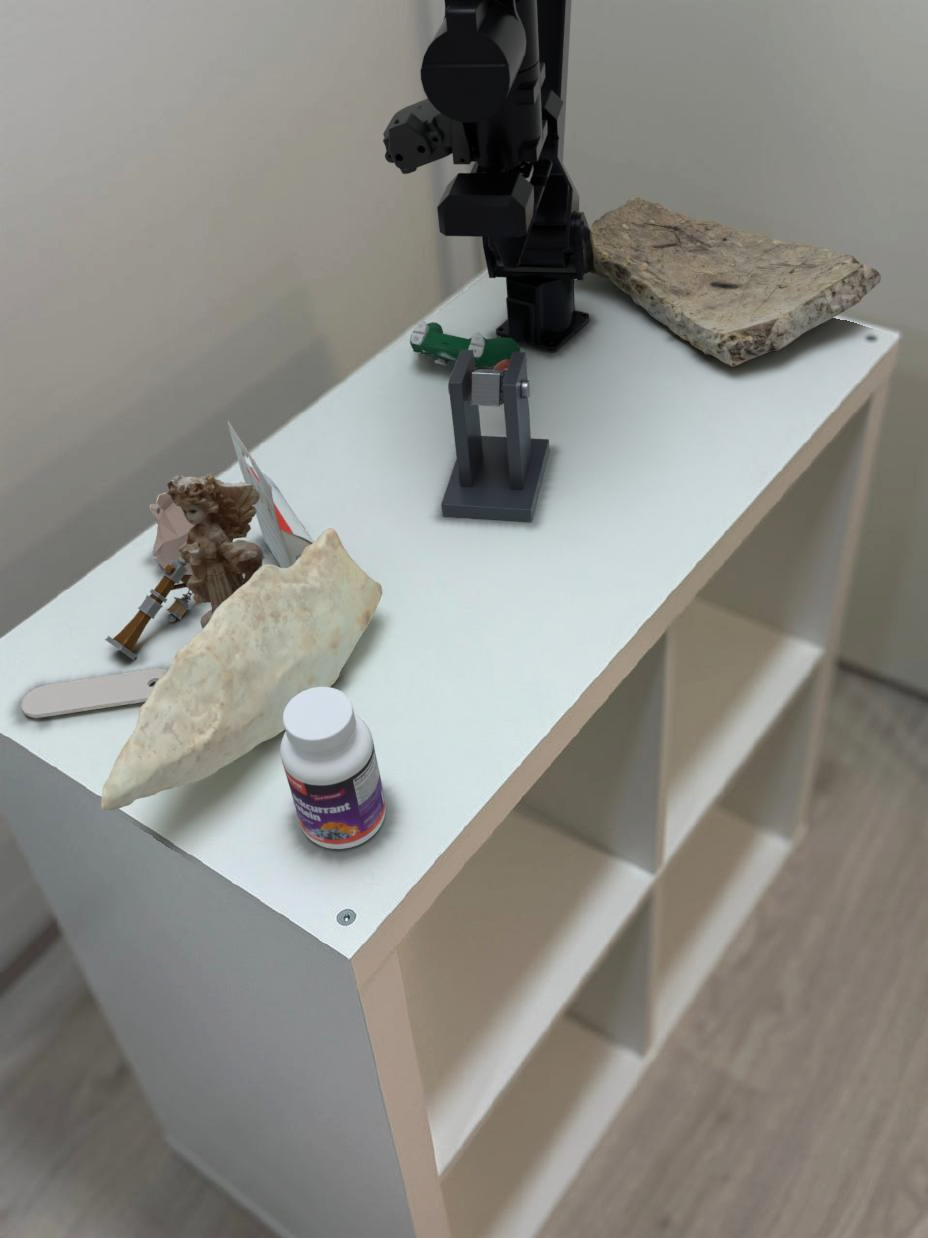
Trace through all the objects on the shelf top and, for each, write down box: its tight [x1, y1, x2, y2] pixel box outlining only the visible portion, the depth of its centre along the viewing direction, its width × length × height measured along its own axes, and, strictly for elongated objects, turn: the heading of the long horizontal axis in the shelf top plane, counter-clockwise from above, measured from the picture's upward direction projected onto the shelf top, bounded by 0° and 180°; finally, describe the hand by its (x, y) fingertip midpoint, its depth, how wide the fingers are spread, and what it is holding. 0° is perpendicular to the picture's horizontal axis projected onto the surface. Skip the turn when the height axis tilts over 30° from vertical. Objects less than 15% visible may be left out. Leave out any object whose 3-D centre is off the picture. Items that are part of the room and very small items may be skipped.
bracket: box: [440, 350, 551, 523], centre depth 96 cm, size 9×7×11 cm
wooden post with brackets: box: [104, 557, 194, 661], centre depth 90 cm, size 2×8×4 cm, turn 139°
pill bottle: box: [279, 687, 387, 850], centre depth 74 cm, size 5×5×10 cm
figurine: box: [166, 472, 266, 629], centre depth 83 cm, size 7×6×15 cm
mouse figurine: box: [149, 492, 195, 576], centre depth 93 cm, size 5×8×7 cm, turn 58°
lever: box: [471, 359, 529, 407], centre depth 97 cm, size 11×3×3 cm, turn 168°
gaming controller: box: [409, 319, 521, 369], centre depth 111 cm, size 9×4×6 cm
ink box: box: [226, 420, 315, 568], centre depth 90 cm, size 3×9×12 cm, turn 26°
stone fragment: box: [589, 196, 882, 367], centre depth 115 cm, size 28×6×20 cm
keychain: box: [21, 667, 168, 719], centre depth 86 cm, size 10×1×3 cm
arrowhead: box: [100, 527, 383, 811], centre depth 79 cm, size 10×6×25 cm
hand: (511, 265), depth 98 cm, fingers closed
